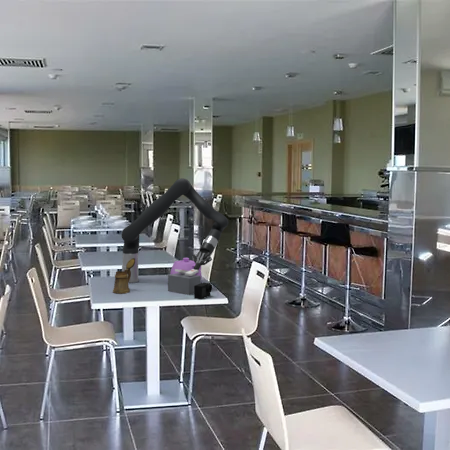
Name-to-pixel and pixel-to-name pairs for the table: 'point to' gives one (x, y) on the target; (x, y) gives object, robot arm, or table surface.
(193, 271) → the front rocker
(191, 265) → the teapot
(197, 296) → the digital camera
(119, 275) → the wooden mug
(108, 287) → the table surface
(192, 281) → the switch box
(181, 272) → the back rocker
